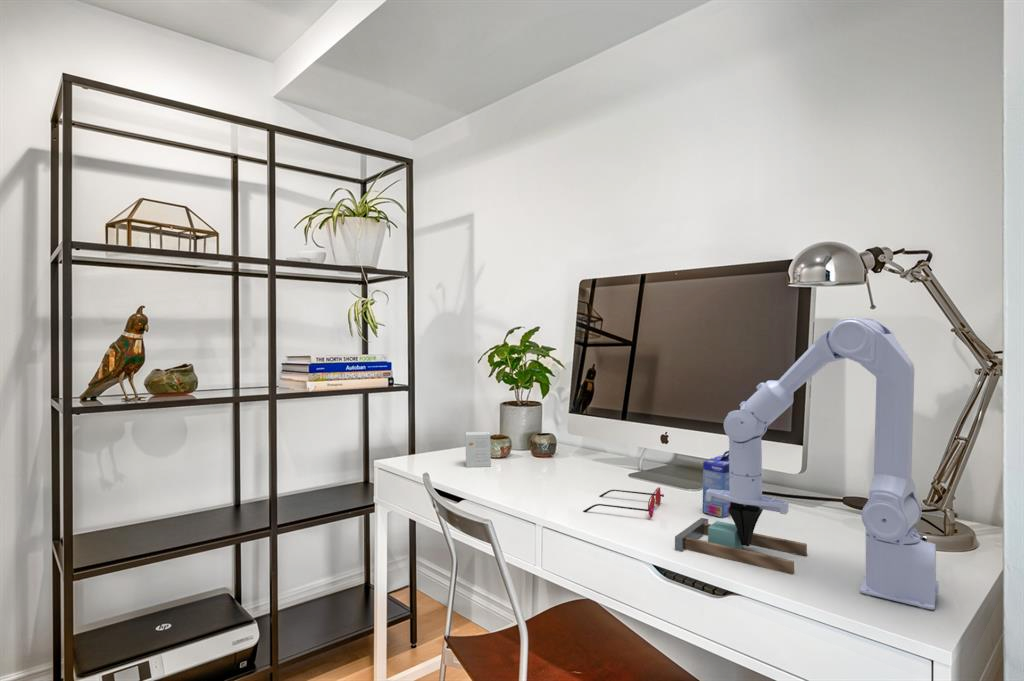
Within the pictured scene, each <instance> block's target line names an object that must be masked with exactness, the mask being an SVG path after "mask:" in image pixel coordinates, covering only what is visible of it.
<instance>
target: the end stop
mask: <svg viewBox="0 0 1024 681" xmlns="http://www.w3.org/2000/svg"><path fill="white" fill-rule="evenodd" d="M704 524H709V518H705V517H701V518H699V519H698V520H696V521H695V522H694V523H692V524H690V525H689V526H688V527H686V528H685V529H683V530H682V531H681V532H679V533H678V534H677V535H675V536H674V550H675V551H678V550H679V552H684V551H685V550H686V549H685V539H686V538H687V537H688V538H693V539H698V540H700V539H701V538H702V537H703V536H704V535H705V534H704ZM703 534H704V535H703ZM702 535H703V536H702Z"/></svg>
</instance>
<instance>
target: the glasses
mask: <svg viewBox="0 0 1024 681" xmlns="http://www.w3.org/2000/svg"><path fill="white" fill-rule="evenodd" d="M611 492H620V493H631V494H637V495H639V494H640V495H647V496H648V495H649V496H650V497H649V499H648V503H647V509H646V508H638V507H630V506H622V505H614V504H613V505H612V504H603V503H597V504H593V505H591V506H589V507H587V508H586V509H584V510H582V513H587V512H588V511H590V510H591V509H593V508H594V507H597V506H602V507H608V508H609V507H611V508H619V509H624V510H633V511H644V512H648V515H649V517H650V518H652V517H653V515H654V509H655V506H656V505H657V506H661V501H662V498H663V497H665V494H664V493H662V492H661V487H660V486H659V487H656V488H655V490H654V492H652V493H651V492H641V491H633V490H632V491H631V490H621V489H610V490H607V491H606V492H603V493H602V494H600V495H599V496H598V497H600V498H602V497H604V496H605V495H607V494H609V493H611Z"/></svg>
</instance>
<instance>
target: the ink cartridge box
mask: <svg viewBox="0 0 1024 681" xmlns="http://www.w3.org/2000/svg"><path fill="white" fill-rule="evenodd" d="M702 468H703V469H702V470H703V471H702V513H703V514H706V513H707V515H711V516H714V517H717V516H718V517H717V518H721V517H722V518H721V519H724V518H726V517H728V516H731V515H730V514H729V510H728V509H729V508H730V504H729V503H724V502H718V501H706V491H707V490H708V489H715V490H727V491H730V486H729V450H727V451H725V452H724V453H722V455H718V456H715V457H713V458H712V457H711V458H709V459H706V460H704V461H703V463H702Z"/></svg>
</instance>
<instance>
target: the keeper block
mask: <svg viewBox="0 0 1024 681" xmlns="http://www.w3.org/2000/svg"><path fill="white" fill-rule="evenodd" d="M707 542H711V543H716V544H720V545H725V546H729V547H734V548H738V549H742V548H743V547H744V546H743V545H741V542H740V537H739V534H738V530H737V528H736V525H735V523H730V522H725V521H721V520H716V521H715V522H713V523H712V524H711V526H709V527H708V535H707Z"/></svg>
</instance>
